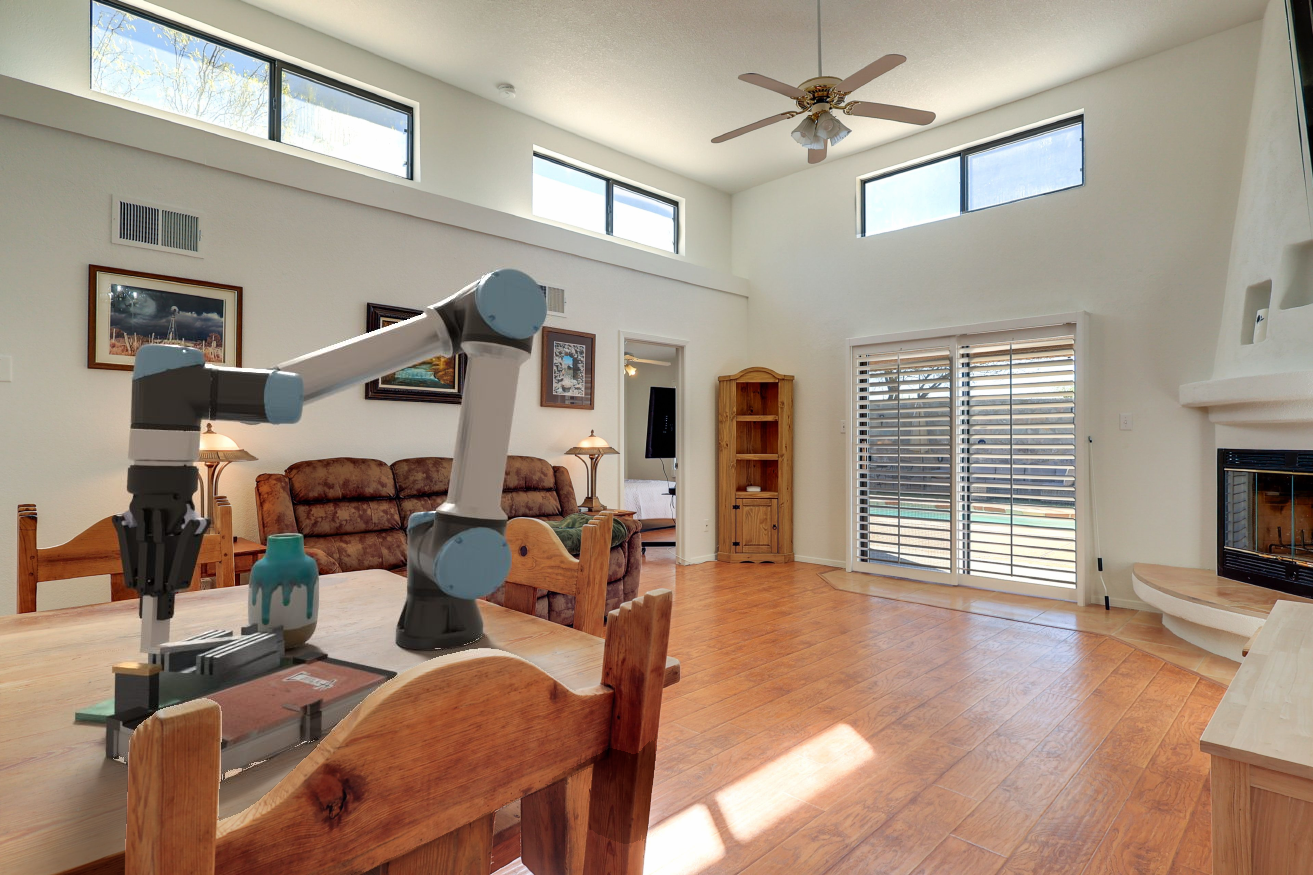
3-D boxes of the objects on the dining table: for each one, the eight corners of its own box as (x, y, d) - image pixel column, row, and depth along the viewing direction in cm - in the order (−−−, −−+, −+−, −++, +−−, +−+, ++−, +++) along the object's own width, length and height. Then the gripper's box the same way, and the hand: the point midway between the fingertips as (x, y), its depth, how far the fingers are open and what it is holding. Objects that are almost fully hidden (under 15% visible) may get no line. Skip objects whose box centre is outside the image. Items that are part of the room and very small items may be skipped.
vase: (268, 661, 106) (270, 542, 106) (234, 649, 112) (236, 536, 112) (331, 645, 115) (332, 534, 115) (296, 634, 121) (298, 529, 121)
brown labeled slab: (202, 798, 67) (203, 748, 67) (105, 760, 75) (106, 716, 75) (400, 705, 91) (401, 669, 91) (312, 684, 98) (313, 650, 99)
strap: (270, 640, 104) (271, 635, 105) (159, 653, 85) (160, 647, 86) (253, 639, 105) (254, 634, 105) (139, 652, 86) (140, 645, 86)
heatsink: (311, 665, 105) (311, 621, 105) (178, 730, 81) (179, 673, 81) (227, 658, 108) (228, 615, 108) (75, 720, 84) (76, 664, 84)
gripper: (230, 465, 90) (222, 640, 89) (148, 461, 92) (138, 632, 92) (182, 465, 83) (172, 656, 82) (94, 462, 85) (83, 648, 84)
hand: (154, 643), depth 87 cm, fingers closed
